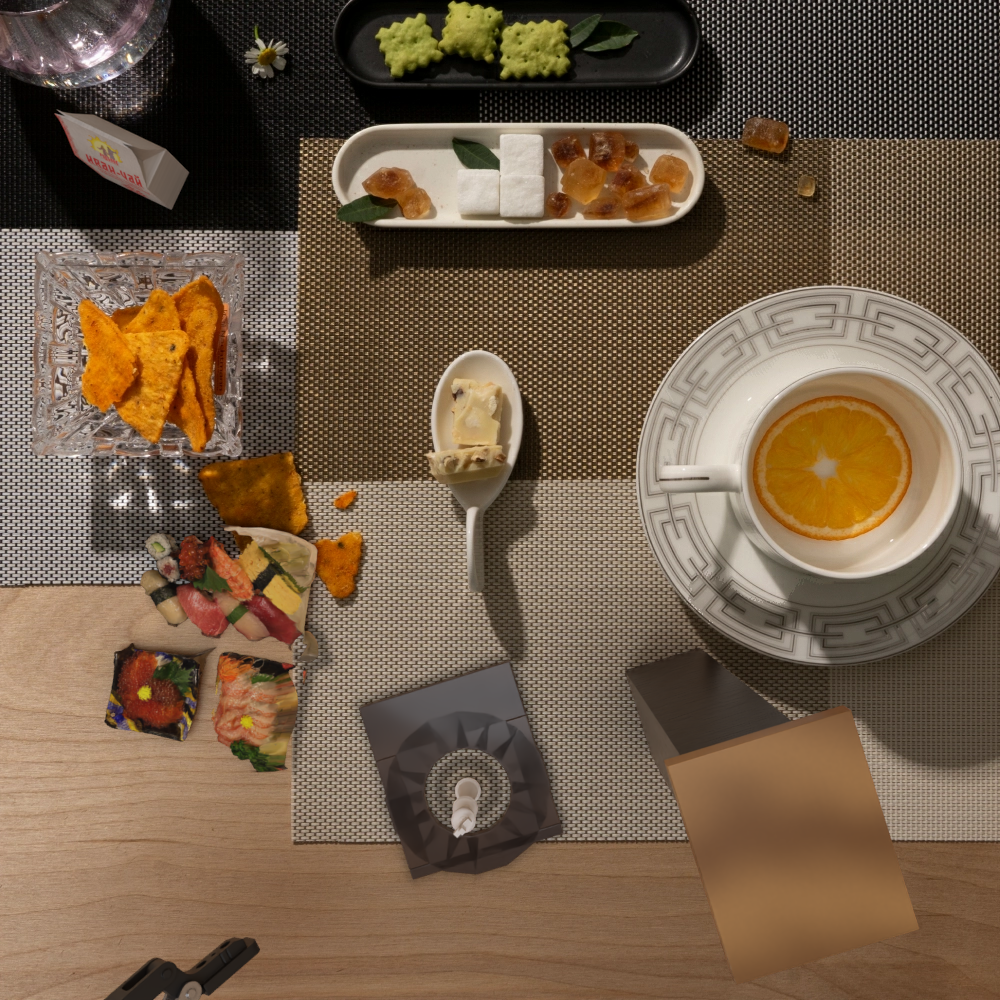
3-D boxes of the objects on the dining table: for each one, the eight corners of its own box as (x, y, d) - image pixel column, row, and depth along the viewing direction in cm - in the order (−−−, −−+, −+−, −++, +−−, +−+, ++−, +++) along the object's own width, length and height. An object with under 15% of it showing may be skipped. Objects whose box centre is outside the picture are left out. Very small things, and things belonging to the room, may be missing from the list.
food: (153, 501, 71) (134, 501, 67) (353, 543, 71) (345, 545, 67) (104, 737, 71) (83, 749, 68) (304, 779, 71) (293, 794, 67)
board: (568, 836, 71) (570, 846, 69) (417, 882, 71) (414, 894, 69) (511, 655, 71) (511, 660, 69) (360, 702, 71) (356, 708, 69)
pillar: (722, 728, 70) (872, 891, 41) (648, 751, 71) (746, 930, 42) (696, 644, 70) (827, 748, 41) (622, 667, 71) (701, 787, 42)
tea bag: (128, 146, 71) (65, 89, 61) (194, 178, 71) (143, 126, 61) (111, 183, 71) (45, 132, 61) (177, 214, 71) (123, 169, 61)
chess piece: (430, 785, 71) (417, 833, 61) (467, 745, 71) (460, 787, 61) (470, 822, 71) (463, 876, 61) (507, 782, 71) (506, 830, 61)
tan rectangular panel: (910, 919, 41) (920, 929, 40) (730, 973, 42) (735, 985, 41) (843, 704, 41) (851, 709, 40) (663, 759, 42) (667, 766, 41)
